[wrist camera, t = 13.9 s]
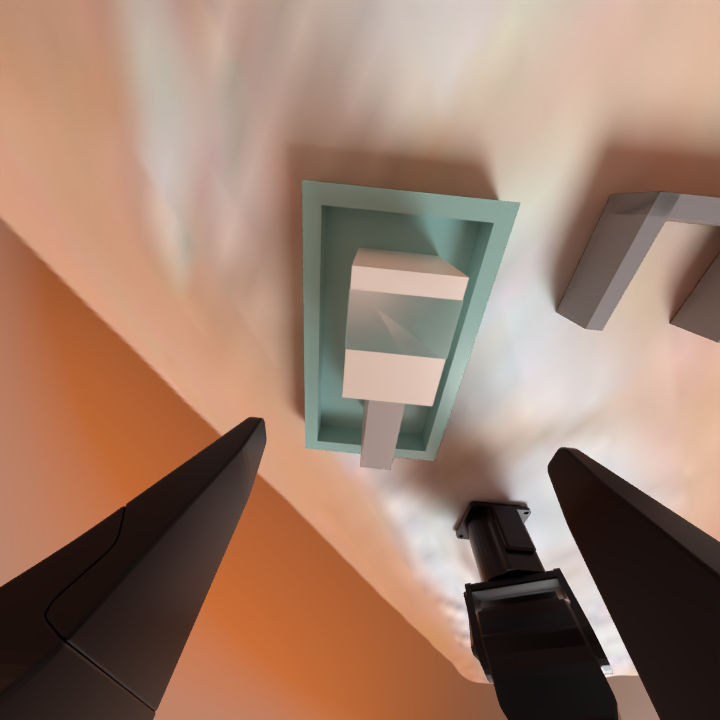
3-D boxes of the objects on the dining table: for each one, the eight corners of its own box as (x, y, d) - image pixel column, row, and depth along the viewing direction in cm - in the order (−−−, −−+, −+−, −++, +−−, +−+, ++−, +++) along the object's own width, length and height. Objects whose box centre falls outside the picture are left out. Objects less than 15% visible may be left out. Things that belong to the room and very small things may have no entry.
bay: (684, 325, 19) (734, 344, 16) (555, 311, 19) (585, 328, 16) (767, 210, 15) (848, 211, 13) (611, 194, 15) (660, 191, 13)
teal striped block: (404, 411, 23) (414, 472, 18) (344, 405, 23) (336, 464, 18) (439, 255, 17) (470, 277, 12) (357, 247, 17) (351, 265, 11)
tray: (429, 439, 25) (434, 461, 23) (311, 427, 25) (305, 448, 23) (500, 203, 16) (520, 202, 14) (311, 183, 16) (301, 179, 13)
